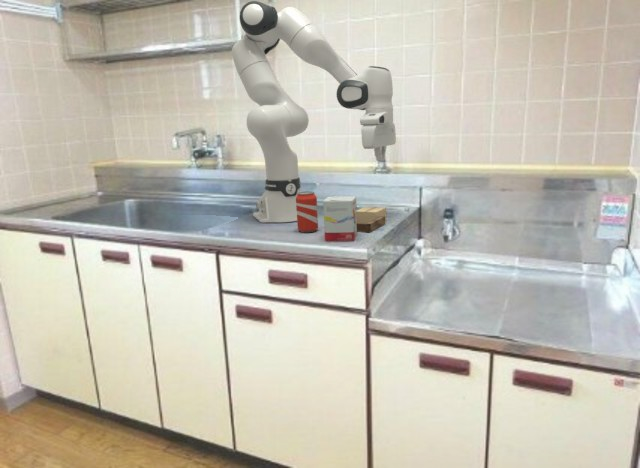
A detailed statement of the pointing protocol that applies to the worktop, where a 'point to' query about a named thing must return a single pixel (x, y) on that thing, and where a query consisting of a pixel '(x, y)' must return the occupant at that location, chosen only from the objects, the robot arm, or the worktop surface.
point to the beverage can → (307, 211)
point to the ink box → (340, 218)
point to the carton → (370, 214)
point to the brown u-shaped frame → (371, 225)
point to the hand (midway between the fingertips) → (380, 160)
